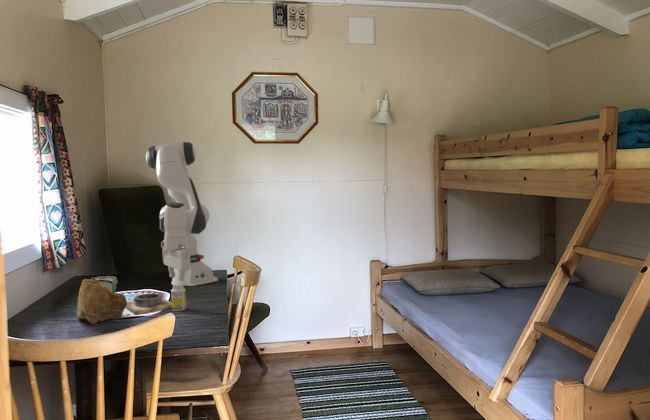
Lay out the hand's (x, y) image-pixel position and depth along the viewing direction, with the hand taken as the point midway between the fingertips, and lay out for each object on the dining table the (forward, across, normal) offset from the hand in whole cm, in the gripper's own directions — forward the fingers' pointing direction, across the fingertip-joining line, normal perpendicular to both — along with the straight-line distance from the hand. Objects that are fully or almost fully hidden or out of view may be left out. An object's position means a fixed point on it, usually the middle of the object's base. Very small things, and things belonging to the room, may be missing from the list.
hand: (176, 278), depth 199 cm
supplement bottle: (+12, 0, -1) cm, 13 cm away
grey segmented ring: (+11, +12, +7) cm, 18 cm away
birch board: (+12, +12, +7) cm, 19 cm away
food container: (+12, +34, +18) cm, 40 cm away
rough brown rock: (+13, +6, +26) cm, 30 cm away
